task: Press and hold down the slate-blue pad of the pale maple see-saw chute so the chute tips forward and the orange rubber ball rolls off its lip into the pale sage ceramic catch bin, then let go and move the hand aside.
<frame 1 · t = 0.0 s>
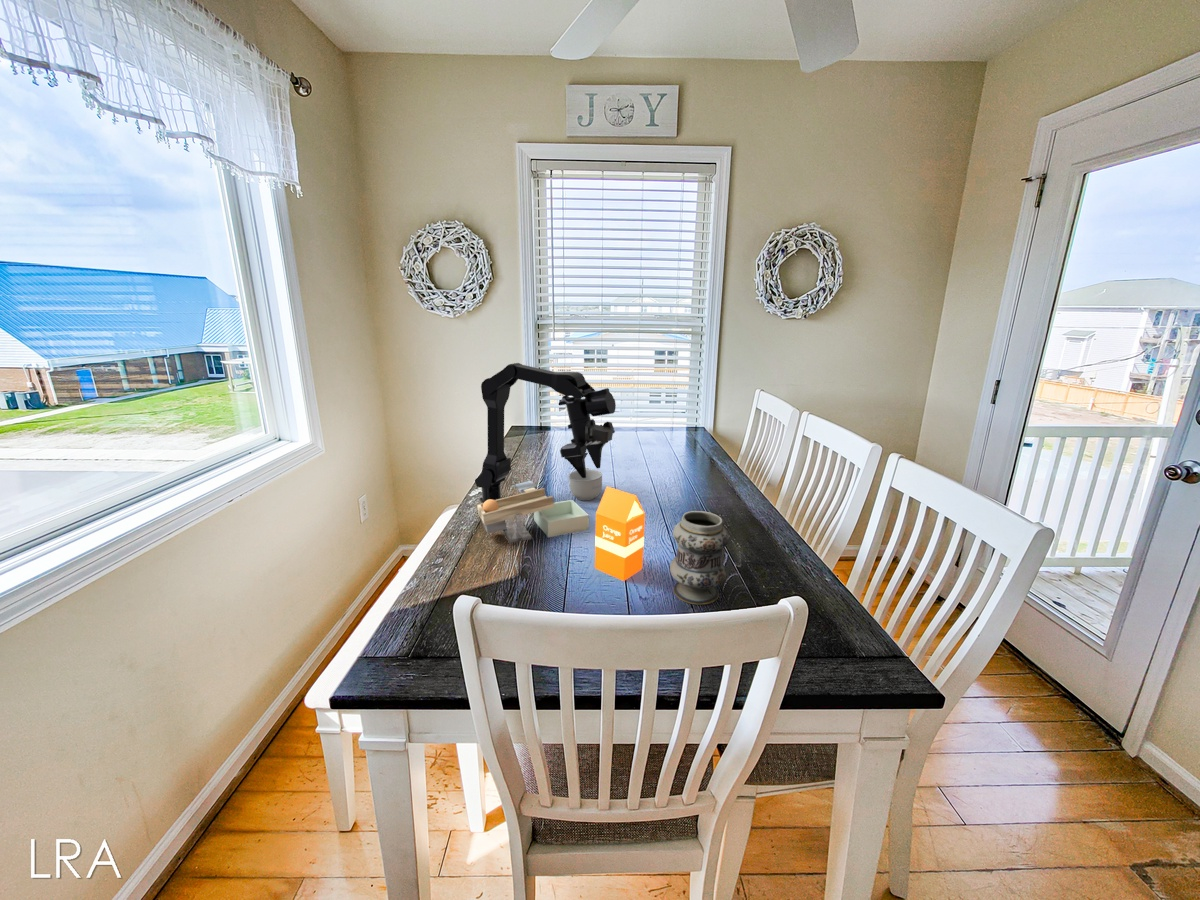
hand: (591, 472, 139), 15 cm above the table, tool pointing down, fingers open, 9 cm apart
catch bin: (560, 524, 142), on the table
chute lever: (511, 504, 139), point 7 cm above the table, hinge at 6.0°, touching ball
ball: (490, 506, 131), point 9 cm above the table, tilted 5°, touching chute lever
apothecary jar: (695, 593, 110), on the table
teacup: (586, 495, 164), on the table
pivot stand: (514, 533, 136), on the table
orange juice: (618, 569, 119), on the table
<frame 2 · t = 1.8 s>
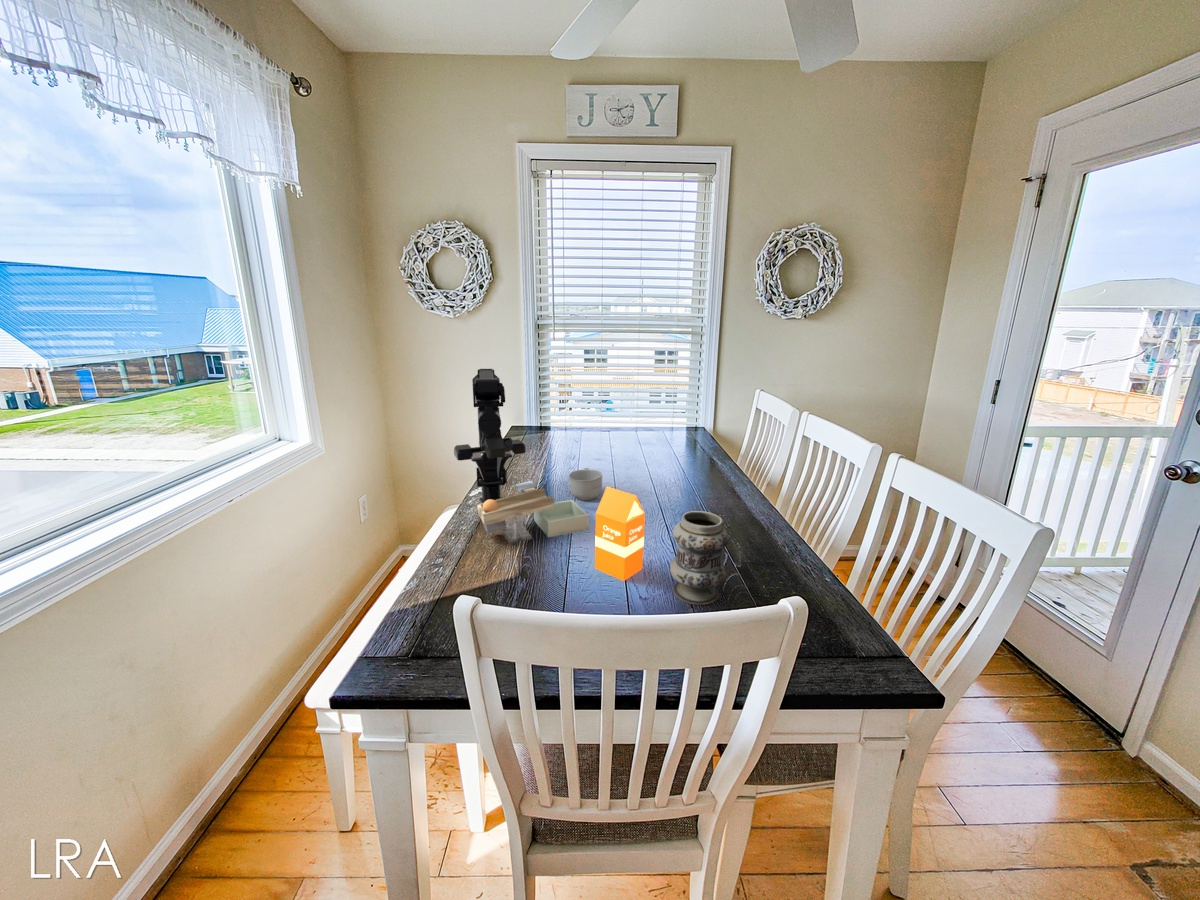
hand: (491, 478, 140), 13 cm above the table, tool pointing down, fingers open, 4 cm apart
nothing on the table moved.
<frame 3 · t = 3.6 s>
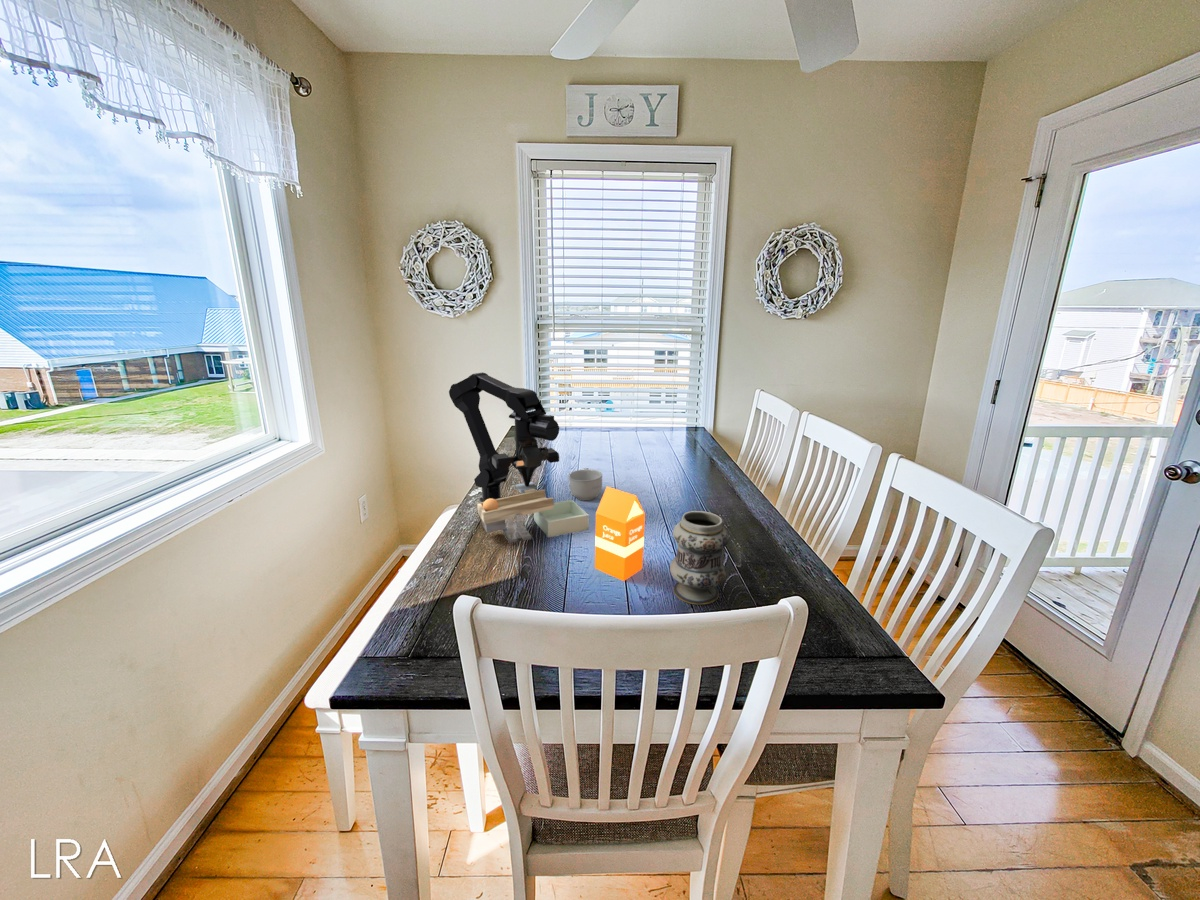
hand: (526, 485, 146), 9 cm above the table, tool pointing down, fingers closed, pressing on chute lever
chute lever: (511, 504, 139), point 7 cm above the table, hinge at 3.6°, touching ball, gripper
everything else where it was.
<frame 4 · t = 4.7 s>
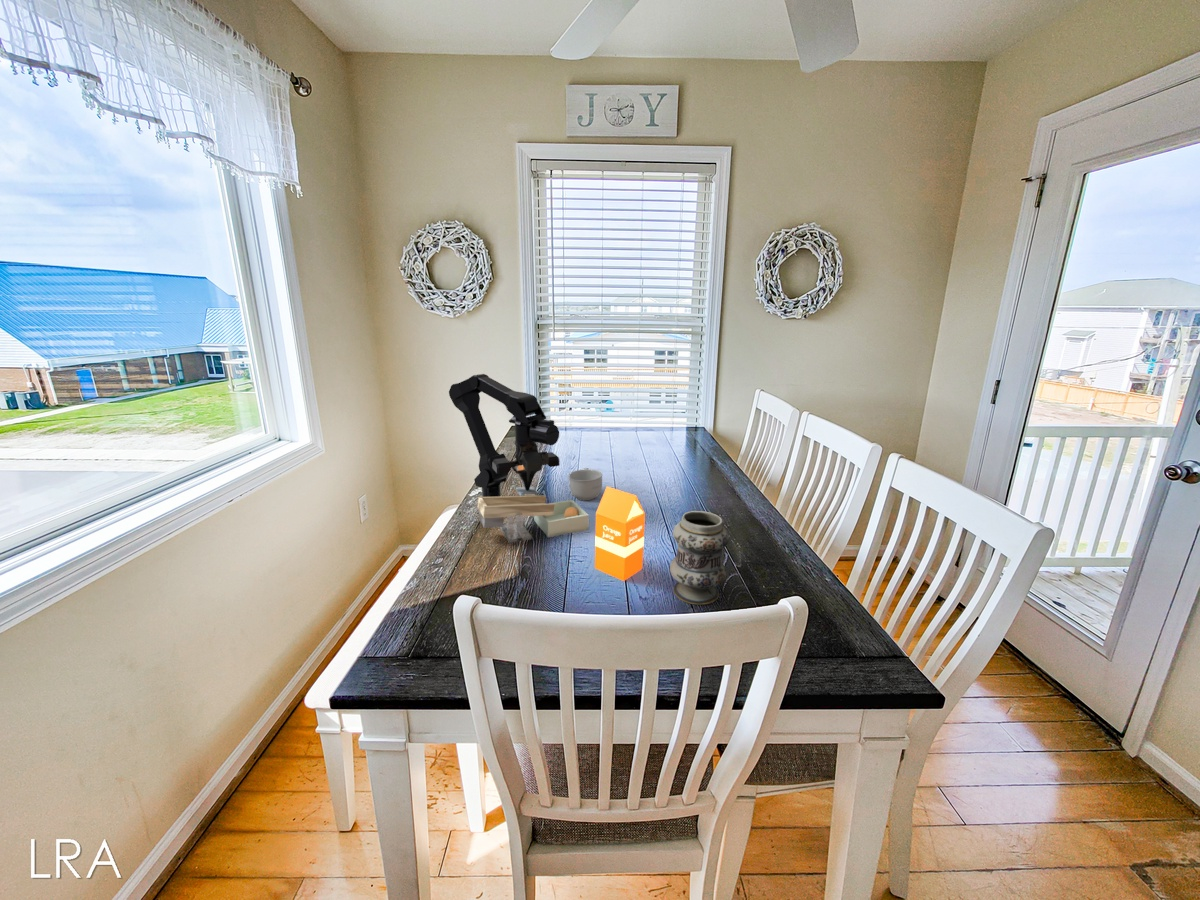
hand: (527, 490, 146), 8 cm above the table, tool pointing down, fingers closed, pressing on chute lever
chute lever: (510, 504, 139), point 6 cm above the table, hinge at -7.3°, touching gripper
ball: (571, 514, 142), point 3 cm above the table, tilted 45°, touching catch bin
everything else where it was.
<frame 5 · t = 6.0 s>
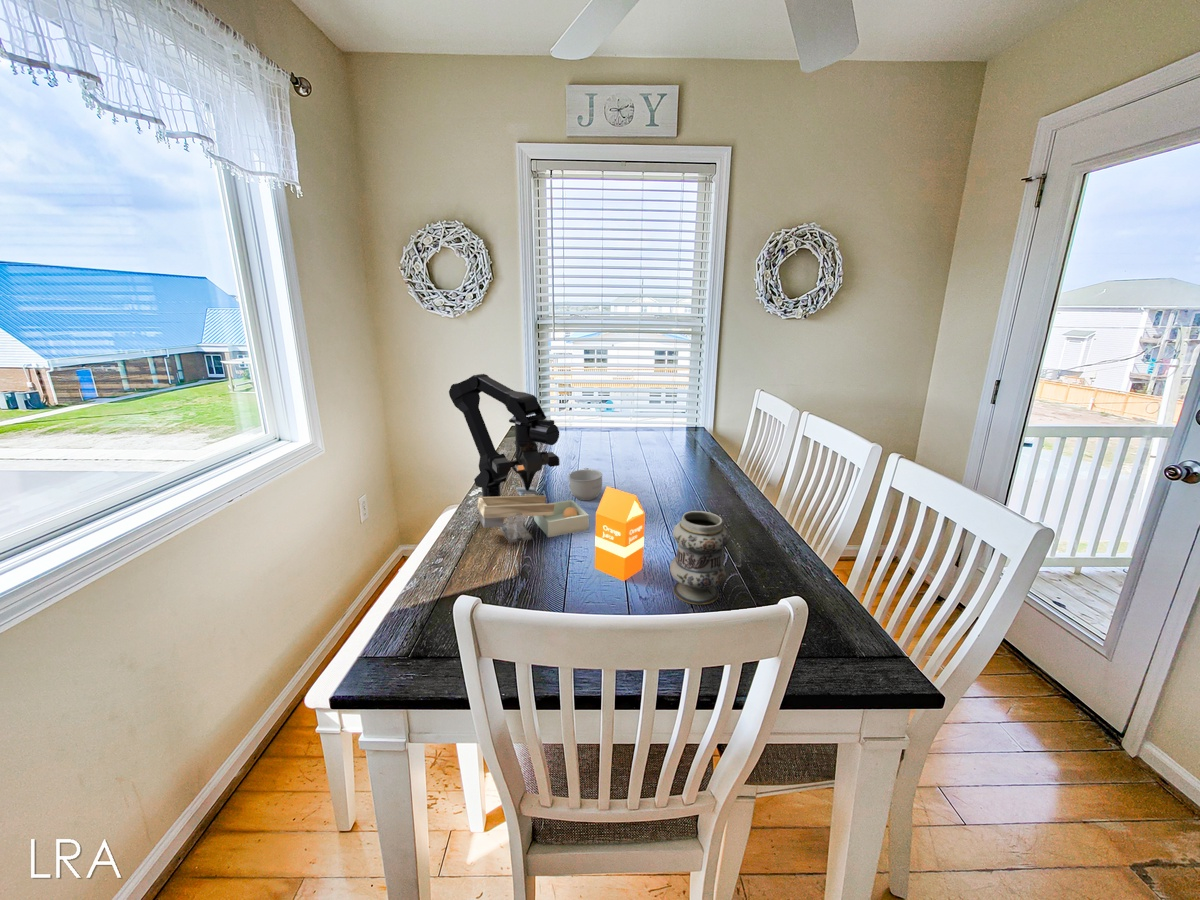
hand: (527, 489, 146), 8 cm above the table, tool pointing down, fingers closed, pressing on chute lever
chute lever: (510, 504, 139), point 6 cm above the table, hinge at -7.3°, touching gripper
ball: (570, 514, 142), point 3 cm above the table, tilted 54°, touching catch bin
everything else where it was.
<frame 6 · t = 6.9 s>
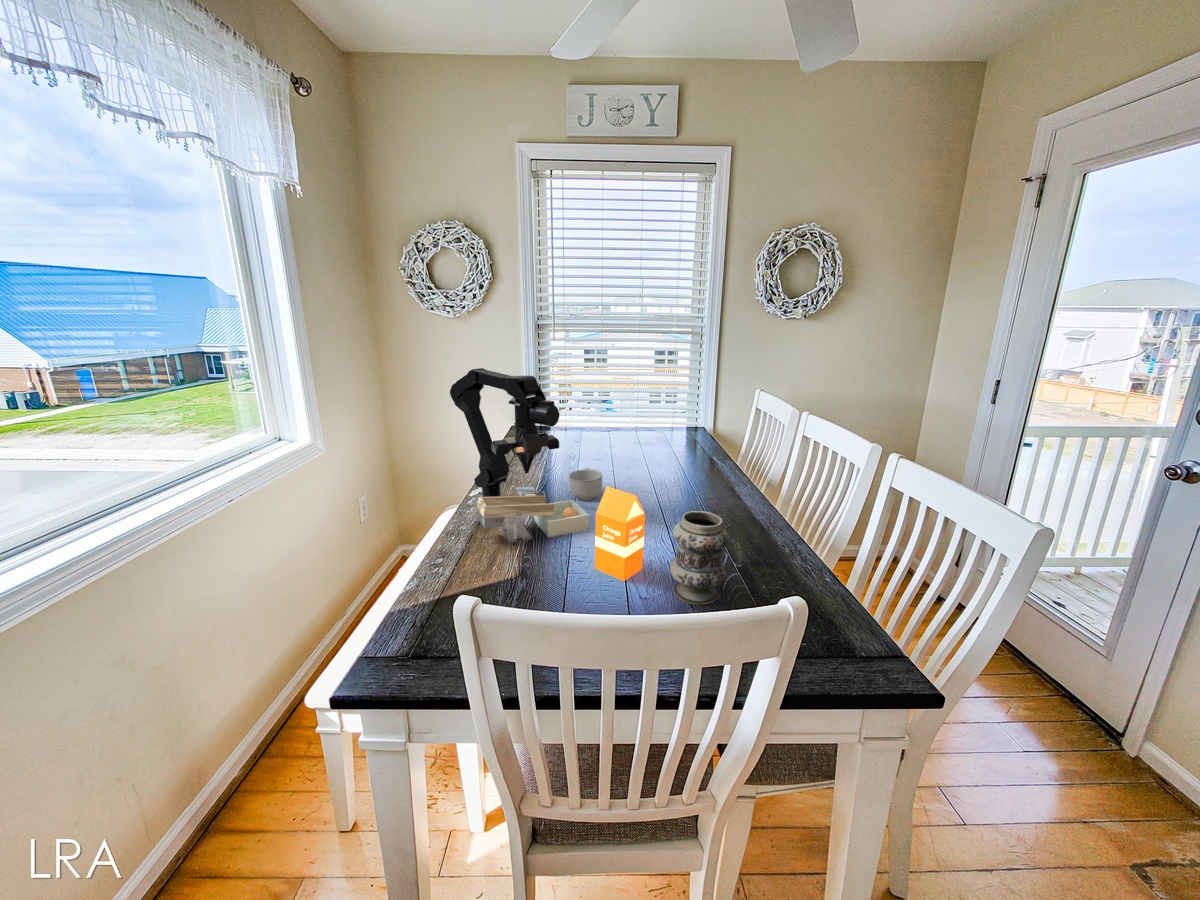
hand: (526, 472, 145), 13 cm above the table, tool pointing down, fingers closed
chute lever: (510, 504, 139), point 6 cm above the table, hinge at -7.3°
ball: (569, 514, 142), point 3 cm above the table, tilted 60°, touching catch bin
everything else where it was.
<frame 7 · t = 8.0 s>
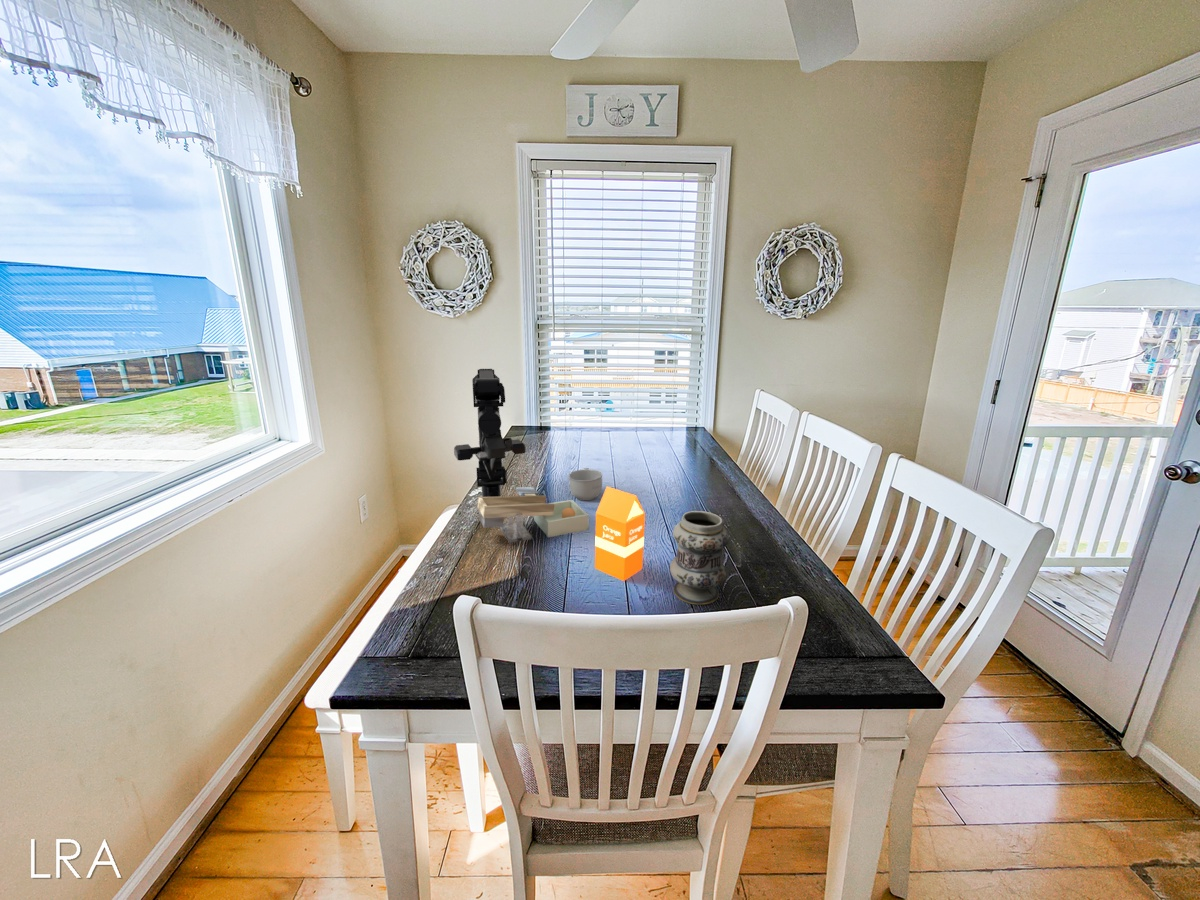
hand: (491, 478, 140), 13 cm above the table, tool pointing down, fingers closed
ball: (568, 514, 142), point 3 cm above the table, tilted 68°, touching catch bin
everything else where it was.
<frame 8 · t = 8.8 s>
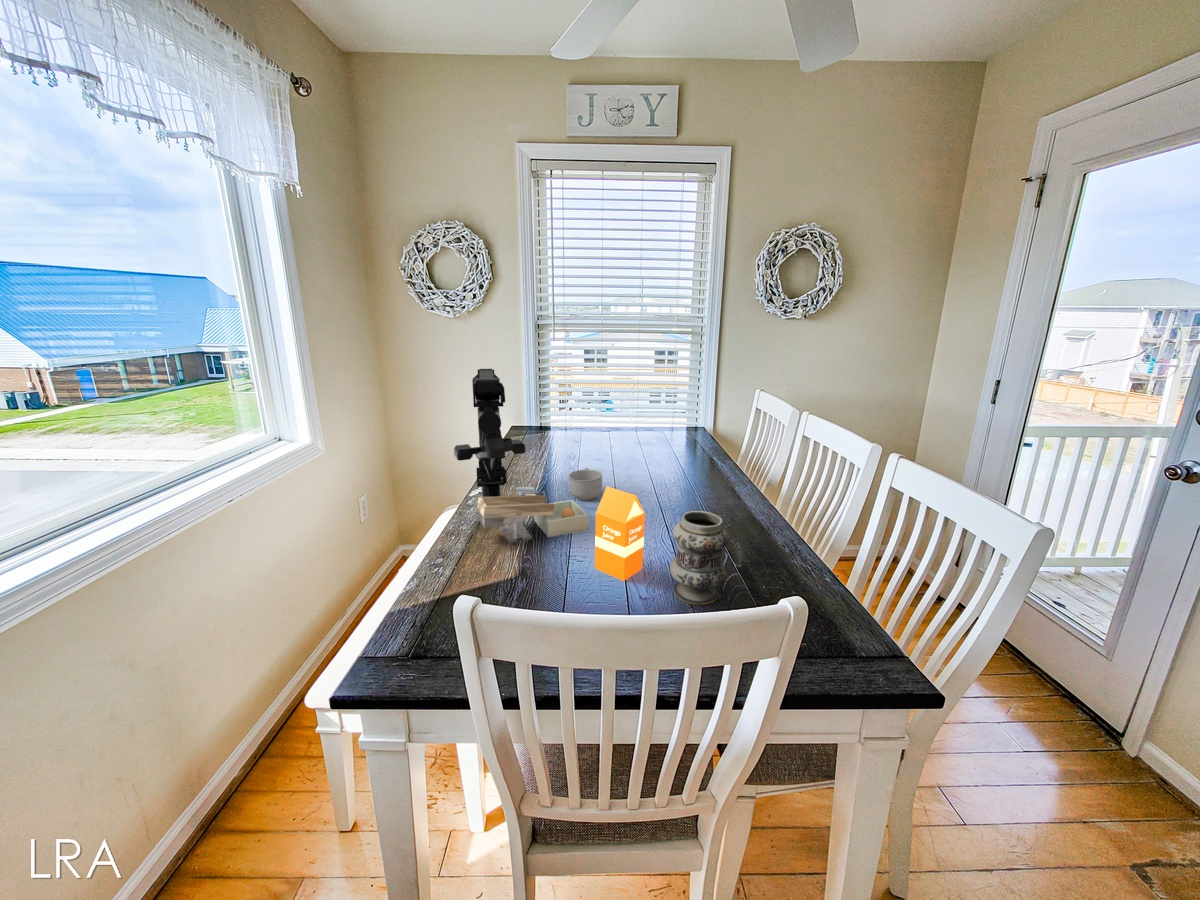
hand: (491, 478, 140), 13 cm above the table, tool pointing down, fingers closed
ball: (568, 514, 142), point 3 cm above the table, tilted 73°, touching catch bin
everything else where it was.
at the end: ball inside the target area on the catch bin (2.1 cm from its centre), point 2.8 cm above the catch bin's base; ball touching catch bin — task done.
